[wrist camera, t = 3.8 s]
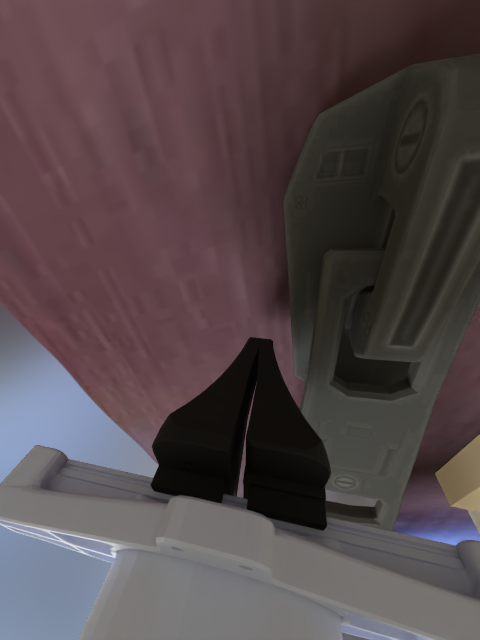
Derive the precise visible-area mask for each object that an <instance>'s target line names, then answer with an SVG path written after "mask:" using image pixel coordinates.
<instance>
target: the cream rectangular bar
mask: <svg viewBox="0 0 480 640" xmlns="http://www.w3.org/2000/svg"><path fill="white" fill-rule="evenodd" d="M435 475H436V477H437V479H438V481H439V483H440V485H441V488H442V490H443V492H444V494H445V496H446V498H447V500H448V502H449V504H450V506H452V507H457V508H462V509H467V510H468V512H469V514H470V516H471V518H472V520H473V522H474V524H475V526H476V528H477V529H478V531H479V533H480V434H479V435H478V436H477V437H476V438H475V439H474V440H472V441H471V442H470V443H469V444H468V445H467V446H466V447H464V448H463V449H462V450H461V451H460V452H459V453H458V454H456V455H455V456H454V457H453V458H452V459H451V460H450V461H448V462H447V463H446V464H445V465H444V466H443V467H442V468H441V469H439V470H438V471H437V472H436V473H435Z"/></svg>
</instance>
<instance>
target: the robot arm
mask: <svg viewBox="0 0 480 640" xmlns="http://www.w3.org/2000/svg"><path fill="white" fill-rule="evenodd" d="M256 382H257V384H256ZM255 386H256V390H255ZM254 390H255V395H254V401H253V406H252V411H251V416H250V421H249V426H248V430H247V435H246V465H245V472H244V479H243V483H244V498H240V497H237V490H238V483H239V475H240V468H241V461H242V454H243V447H244V440H245V433H246V426H247V420H248V415H249V410H250V406H251V402H252V398H253V394H254ZM152 448H153V452H154V454H155V456H156V459H157V461H158V463H159V467H158V469H157V471H156V474H155V476H154V478H150V477H146V476H141V475H137V474H132V473H128V472H123V471H119V470H114V469H110V468H106V467H101V466H96V465H92V464H88V463H83V462H79V461H74V460H70V459H68V458H67V456H66V455H65V454H64V453H63V452H61V451H59V450H57V449H53V448H49V447H44V446H40V445H36V446H35V447H34V448H33V449H32V450H31V451H30V452H29V453H28V454H27V455H26V456H25V457H24V459H23V460H22V461H21V462H20V463H19V464H18V465H17V466H16V467H15V468H14V469H13V470H12V472H11V473H10V474H9V475H8V476H7V477H6V478H5V479H4V481H2V482H1V484H0V525H2V526H4V527H6V528H8V529H10V530H12V531H14V532H17V533H21V534H24V535H27V536H31V537H34V538H37V539H40V540H44V541H47V542H50V543H53V544H56V545H59V546H62V547H65V548H68V549H71V550H74V551H77V552H80V553H83V554H86V555H89V556H92V557H95V558H98V559H101V560H104V561H107V562H110V563H113V564H112V566H111V568H110V570H109V573H108V575H107V577H106V579H105V582H104V584H103V586H102V588H101V591H100V593H99V595H98V597H97V599H96V602H95V604H94V606H93V608H92V611H91V613H90V615H89V617H88V620H87V622H86V624H85V626H84V628H83V631H82V633H81V635H80V637H79V640H480V541H474V540H465V541H462V542H460V543H458V544H457V545H456V546H454V545H450V544H446V543H441V542H437V541H432V540H428V539H423V538H419V537H414V536H410V535H405V534H401V533H396V532H392V531H387V530H383V529H378V528H374V527H370V526H365V525H361V524H356V523H352V522H347V521H343V520H338V519H334V518H329V517H326V509H325V500H326V501H331V502H336V503H341V504H347V505H354V506H369V507H375V504H376V502H377V500H376V499H371V498H366V497H361V496H355V495H350V494H344V493H339V492H333V491H328V490H325V486H326V484H327V482H328V480H329V478H330V476H331V467H330V463H329V459H328V455H327V452H326V449H325V447H324V444H323V441H322V440H321V438H320V437H319V436H318V435H317V433H316V432H315V431H314V429H313V428H312V427H311V426H310V424H309V423H308V421H307V420H306V418H305V417H304V416H303V414H302V413H301V411H300V409H299V408H298V406H297V405H296V403H295V401H294V400H293V398H292V396H291V394H290V392H289V390H288V388H287V386H286V384H285V382H284V380H283V377H282V375H281V373H280V370H279V367H278V364H277V361H276V358H275V354H274V349H273V341H272V340H271V339H262V338H253V337H250V338H249V339H248V341H247V343H246V344H245V346H244V348H243V349H242V351H241V352H240V354H239V355H238V356H237V358H236V359H235V360H234V362H233V363H232V364H231V365H230V366H229V367H228V369H227V370H226V371H225V372H224V373H223V374H222V375H221V376H220V377H219V378H218V379H217V380H216V381H215V382H214V383H213V384H212V385H210V386H209V387H208V388H207V389H206V390H205V391H203V392H202V393H201V394H199V395H198V396H197V397H195V398H194V399H193V400H191V401H190V402H188V403H187V404H185V405H184V406H182V407H181V408H179V409H177V410H176V411H174V412H173V413H171V414H170V415H169V416H168V417H167V419H166V420H165V422H164V424H163V425H162V427H161V428H160V430H159V432H158V434H157V436H156V438H155V440H154V442H153V445H152Z"/></svg>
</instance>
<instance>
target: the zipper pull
mask: <svg viewBox="0 0 480 640" xmlns="http://www.w3.org/2000/svg"><path fill="white" fill-rule="evenodd" d="M283 211H284V224H285V237H286V250H287V263H288V278H289V295H290V312H291V329H292V346H293V363H294V374H295V376H296V377H298V378H300V379H302V380H304V381H306V384H305V388H304V393H303V397H302V402H301V406H300V411H301V413H302V414H303V416H304V417H305V418H306V420H307V421H308V423H309V424H310V426H311V427H312V428H313V429H314V431H315V432H316V433H317V435H318V436H319V437H320V438H321V440H322V441H323V444H324V447H325V449H326V452H327V455H328V459H329V463H330V467H331V476H330V478H329V480H328V482H327V484H326V486H325V490H328V491H333V492H339V493H344V494H350V495H355V496H361V497H366V498H371V499H376V500H377V502H376V504H375V507H369V506H354V505H347V504H341V503H336V502H331V501H326V500H325V509H326V517H329V518H334V519H338V520H343V521H347V522H352V523H356V524H361V525H365V526H370V527H374V528H378V529H383V530H387V531H392V529H393V527H394V524H395V521H396V518H397V515H398V512H399V509H400V506H401V502H402V498H403V495H404V492H405V490H406V487H407V484H408V481H409V478H410V475H411V472H412V469H413V466H414V463H415V460H416V457H417V454H418V451H419V448H420V445H421V442H422V439H423V436H424V433H425V430H426V427H427V424H428V421H429V418H430V415H431V412H432V409H433V406H434V403H435V400H436V398H437V396H438V393H439V391H440V389H441V387H442V384H443V382H444V380H445V378H446V375H447V373H448V371H449V368H450V366H451V364H452V362H453V359H454V357H455V355H456V353H457V350H458V348H459V346H460V343H461V341H462V339H463V337H464V334H465V332H466V330H467V328H468V325H469V323H470V321H471V318H472V316H473V314H474V312H475V309H476V307H477V305H478V303H479V300H480V53H478V54H472V55H465V56H458V57H452V58H445V59H439V60H433V61H427V62H422V63H416V64H412V65H410V66H408V67H406V68H404V69H402V70H400V71H398V72H396V73H395V74H393V75H391V76H389V77H387V78H385V79H383V80H382V81H380V82H378V83H376V84H374V85H372V86H370V87H368V88H367V89H365V90H363V91H361V92H359V93H357V94H355V95H353V96H351V97H350V98H348V99H346V100H344V101H342V102H340V103H338V104H336V105H334V106H332V107H330V108H329V109H327V110H325V111H323V112H322V113H320V114H319V115H318V116H317V118H316V120H315V121H314V123H313V125H312V127H311V129H310V131H309V134H308V136H307V139H306V141H305V144H304V146H303V149H302V151H301V154H300V156H299V159H298V161H297V164H296V166H295V168H294V171H293V173H292V176H291V178H290V181H289V183H288V186H287V188H286V191H285V194H284V199H283Z"/></svg>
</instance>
